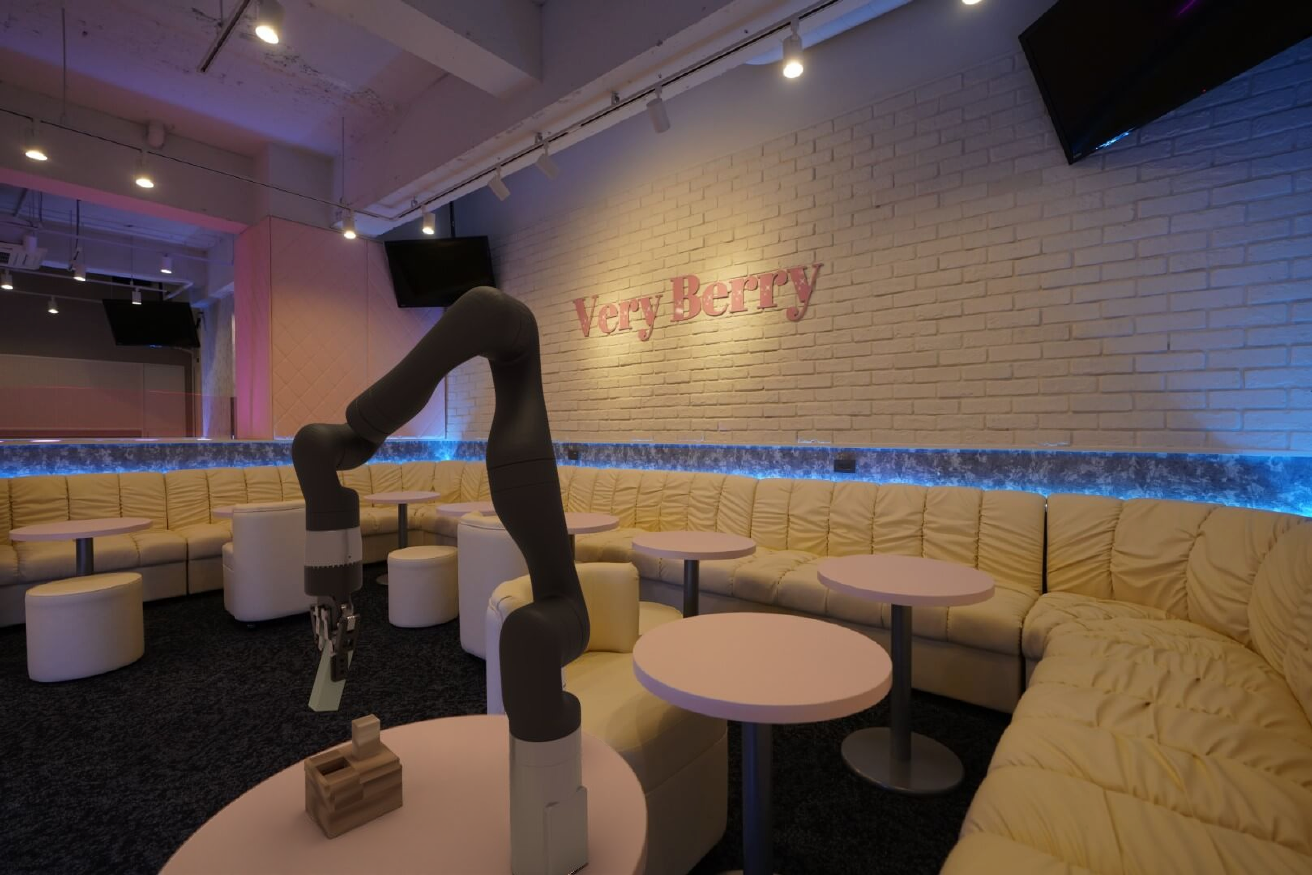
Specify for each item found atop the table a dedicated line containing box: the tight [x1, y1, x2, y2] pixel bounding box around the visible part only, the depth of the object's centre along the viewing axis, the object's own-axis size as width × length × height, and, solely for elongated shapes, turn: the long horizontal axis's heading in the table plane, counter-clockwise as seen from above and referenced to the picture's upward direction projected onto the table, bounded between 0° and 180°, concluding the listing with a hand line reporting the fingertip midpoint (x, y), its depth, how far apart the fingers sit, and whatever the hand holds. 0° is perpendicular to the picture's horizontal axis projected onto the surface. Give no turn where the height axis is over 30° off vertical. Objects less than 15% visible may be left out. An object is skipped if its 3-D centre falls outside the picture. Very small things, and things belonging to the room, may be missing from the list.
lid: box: [303, 713, 401, 798], centre depth 86 cm, size 10×10×6 cm
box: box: [304, 763, 404, 840], centre depth 87 cm, size 10×10×6 cm
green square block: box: [308, 640, 354, 712], centre depth 85 cm, size 3×3×10 cm
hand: (334, 676), depth 85 cm, fingers closed on green square block, 3 cm apart
